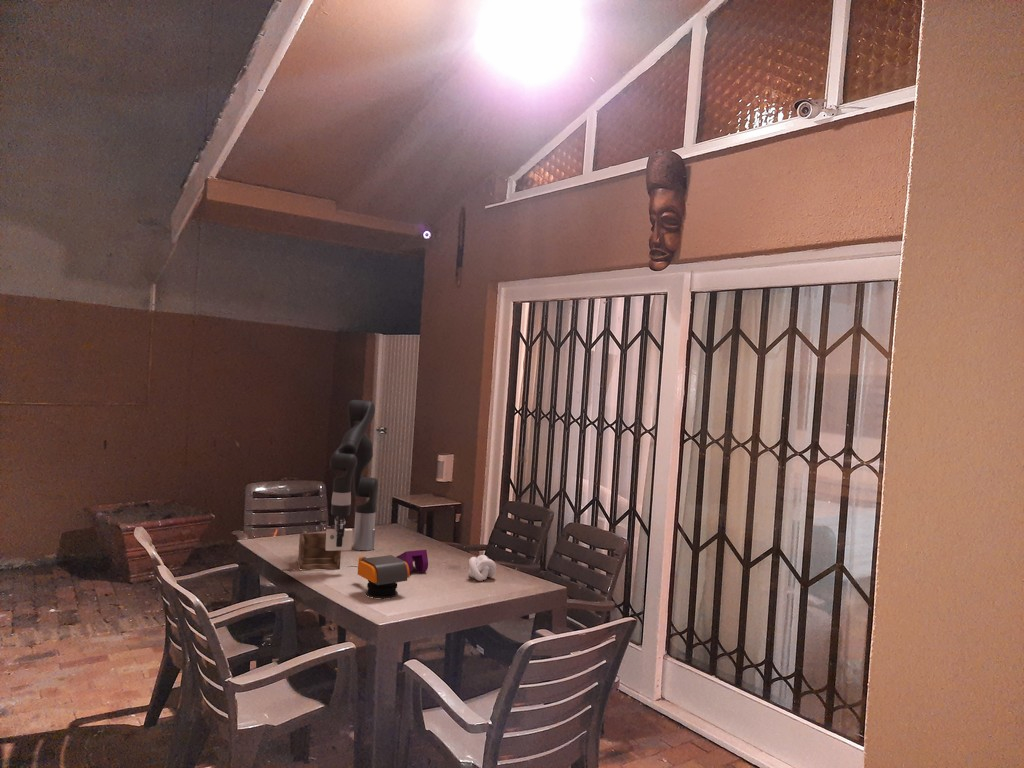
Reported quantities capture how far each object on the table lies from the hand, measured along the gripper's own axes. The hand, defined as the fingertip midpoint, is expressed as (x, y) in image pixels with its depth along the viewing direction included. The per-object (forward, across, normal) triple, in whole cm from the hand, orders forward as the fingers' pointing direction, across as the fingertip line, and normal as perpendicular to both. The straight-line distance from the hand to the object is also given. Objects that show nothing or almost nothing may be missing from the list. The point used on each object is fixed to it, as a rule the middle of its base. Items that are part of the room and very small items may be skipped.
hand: (338, 545), depth 278 cm
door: (+2, 0, 0) cm, 2 cm away
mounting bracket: (+12, +5, -30) cm, 33 cm away
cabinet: (+12, +15, +6) cm, 20 cm away
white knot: (+12, -13, -56) cm, 59 cm away
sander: (+12, -23, -12) cm, 29 cm away
